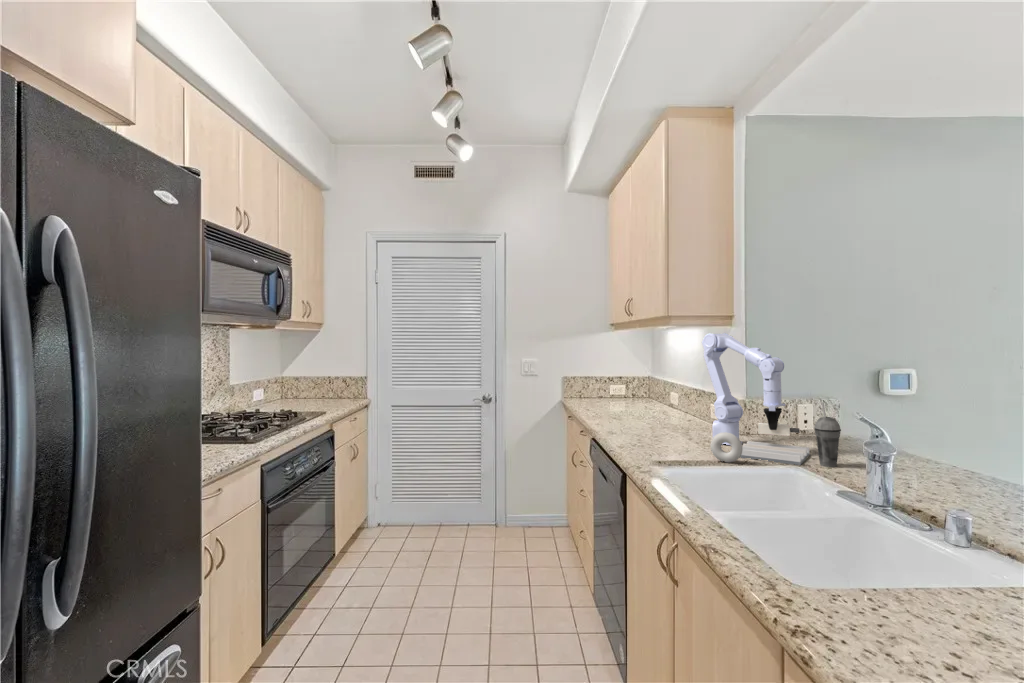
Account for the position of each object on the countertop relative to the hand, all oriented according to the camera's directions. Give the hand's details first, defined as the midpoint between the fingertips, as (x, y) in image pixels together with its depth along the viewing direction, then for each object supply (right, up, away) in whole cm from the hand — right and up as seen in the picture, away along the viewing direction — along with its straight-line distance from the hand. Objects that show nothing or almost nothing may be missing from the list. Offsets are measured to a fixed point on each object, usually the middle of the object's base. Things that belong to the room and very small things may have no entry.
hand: (773, 428), depth 176 cm
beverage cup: (+7, -8, -20) cm, 23 cm away
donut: (-23, -9, -13) cm, 28 cm away
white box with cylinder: (+1, -2, -1) cm, 2 cm away
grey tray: (-4, -9, -6) cm, 11 cm away
